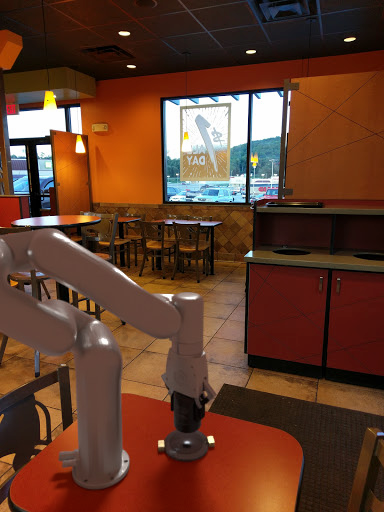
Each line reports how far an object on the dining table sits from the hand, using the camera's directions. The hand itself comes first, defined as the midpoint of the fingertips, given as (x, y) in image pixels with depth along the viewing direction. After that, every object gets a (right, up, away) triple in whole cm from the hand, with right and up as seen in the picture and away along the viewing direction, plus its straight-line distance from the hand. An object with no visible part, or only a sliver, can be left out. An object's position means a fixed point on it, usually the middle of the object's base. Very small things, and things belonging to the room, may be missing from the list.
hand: (187, 413), depth 88 cm
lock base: (0, -9, +1) cm, 9 cm away
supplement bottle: (0, -3, +1) cm, 3 cm away
